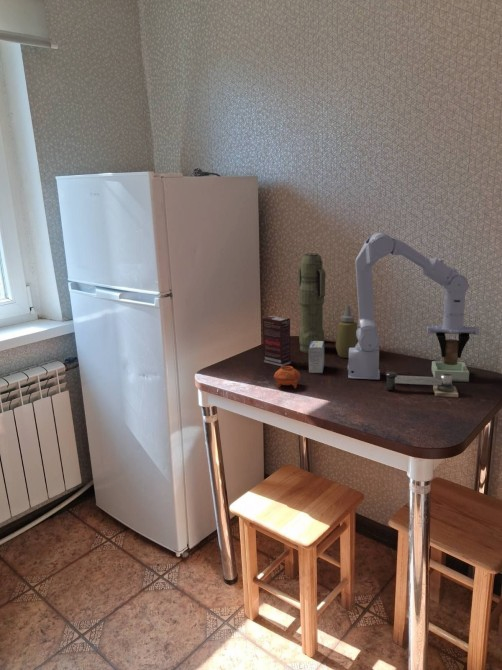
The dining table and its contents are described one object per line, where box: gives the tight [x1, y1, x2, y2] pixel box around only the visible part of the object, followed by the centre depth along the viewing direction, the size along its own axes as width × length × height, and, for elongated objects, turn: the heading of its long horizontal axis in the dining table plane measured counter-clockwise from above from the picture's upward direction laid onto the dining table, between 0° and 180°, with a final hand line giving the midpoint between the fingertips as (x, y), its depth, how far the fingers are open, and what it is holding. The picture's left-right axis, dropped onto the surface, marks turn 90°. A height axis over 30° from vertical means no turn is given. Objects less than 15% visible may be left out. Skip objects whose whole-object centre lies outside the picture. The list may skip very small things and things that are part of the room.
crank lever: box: [385, 371, 453, 391], centre depth 152 cm, size 18×3×5 cm, turn 77°
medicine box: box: [308, 340, 325, 374], centre depth 174 cm, size 8×4×9 cm, turn 168°
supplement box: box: [262, 315, 292, 367], centre depth 181 cm, size 9×5×16 cm, turn 46°
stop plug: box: [443, 338, 459, 365], centre depth 163 cm, size 4×4×7 cm
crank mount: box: [398, 374, 459, 398], centre depth 157 cm, size 16×16×2 cm
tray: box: [431, 360, 470, 383], centre depth 165 cm, size 10×10×3 cm
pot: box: [273, 365, 301, 390], centre depth 160 cm, size 8×8×7 cm
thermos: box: [298, 253, 326, 354], centre depth 192 cm, size 9×12×35 cm
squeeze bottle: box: [335, 304, 359, 359], centre depth 186 cm, size 8×8×18 cm
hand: (450, 356), depth 163 cm, fingers closed on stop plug, 4 cm apart
